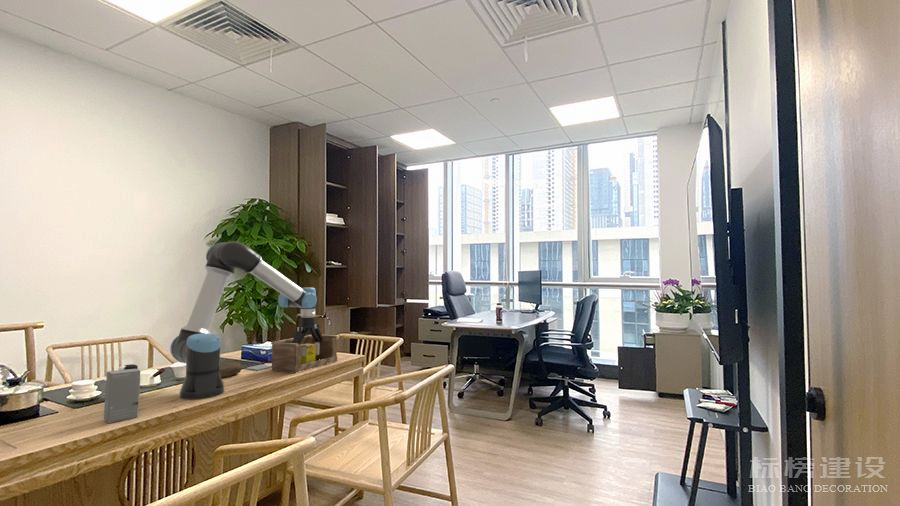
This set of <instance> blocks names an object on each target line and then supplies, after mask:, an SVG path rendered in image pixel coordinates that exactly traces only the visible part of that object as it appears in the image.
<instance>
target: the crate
mask: <svg viewBox="0 0 900 506" xmlns="http://www.w3.org/2000/svg"><path fill="white" fill-rule="evenodd" d="M321 335H322V338H323V340H322V342H320V348H319V355H315V361H314V362H310V363H306V364H303V365H301V344H308V343H309V344H315V342H316V341H315V340H314V338H313V337H312V335H311V334H308V335H306V336H305V337H304V339H303V340H302V342H301V344H300V345H298V344H296V343H292V341H293V339H294V337H292V338H287V339H282V340H275V341H271V342H270V344H271V366H272V368H271V371H276V372H283V373H284V372H285V373H290V372H293V373H292V374H297V373H296V372H298V373H300V372H299V371H302V372H304V371H303V370H305V371H307V370H306V369H309V370H311V369H310V368H312V369H314V368H313V367H316V368H318V366H319V367H322V366H321V365H323V366H325V365H324V364H326V365H328V364H327V363H330V364H332V363H331V362H333V363H336V362H335V361H337V362H338V356H337V349H338V347H337V343H338V341H337V340H338V338H339V335H333V334H322V333H321ZM316 359H320V360H316Z"/></svg>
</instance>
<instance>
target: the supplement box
mask: <svg viewBox="0 0 900 506" xmlns="http://www.w3.org/2000/svg"><path fill="white" fill-rule="evenodd" d="M315 351H316V344H309V343H308V344H301V365H303V364H306V363H310V362H314V361H316V359H315Z"/></svg>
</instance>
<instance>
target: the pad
mask: <svg viewBox="0 0 900 506" xmlns="http://www.w3.org/2000/svg"><path fill="white" fill-rule="evenodd" d="M247 369H249V370H248V371H254V370H256V372H259V370H260V371H263V369H264V370H266V369H267V370H268V369H272V365H267V364H258V365H252V366H248V367H245V370H247Z"/></svg>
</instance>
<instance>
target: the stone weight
mask: <svg viewBox="0 0 900 506" xmlns="http://www.w3.org/2000/svg"><path fill="white" fill-rule="evenodd" d="M219 372H220V376H221V379H223V378H224V377H225V378H228V376H229V377H232V376H234V375H237V374H240V373H241V372H242V365H241V363H240V362H237V361H229V362H222V363H220V370H219ZM225 378H224V379H225Z"/></svg>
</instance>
